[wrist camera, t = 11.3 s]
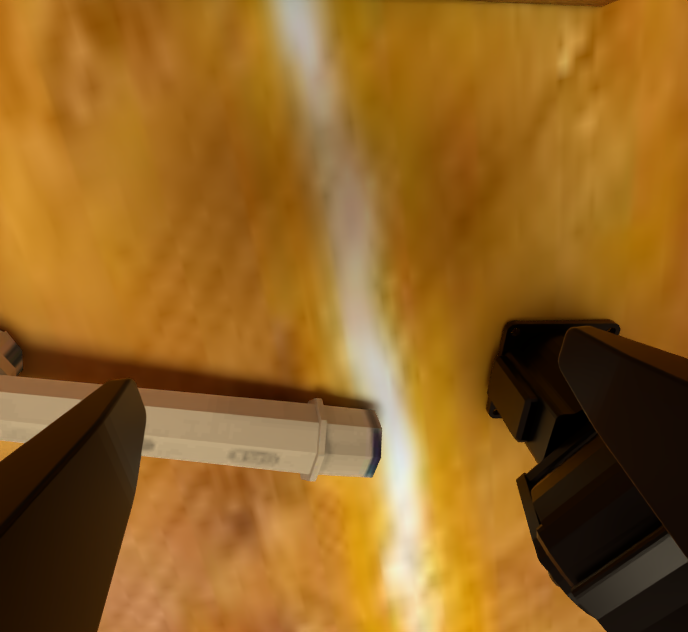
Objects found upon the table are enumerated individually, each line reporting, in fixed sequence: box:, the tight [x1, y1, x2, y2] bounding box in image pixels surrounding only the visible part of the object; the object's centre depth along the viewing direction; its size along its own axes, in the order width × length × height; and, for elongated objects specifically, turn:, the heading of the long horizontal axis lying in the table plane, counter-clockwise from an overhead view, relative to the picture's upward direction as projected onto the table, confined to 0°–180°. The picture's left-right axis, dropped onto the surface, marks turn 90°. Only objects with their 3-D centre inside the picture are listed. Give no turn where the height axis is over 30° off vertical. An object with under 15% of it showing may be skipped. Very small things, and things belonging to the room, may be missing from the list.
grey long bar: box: [0, 330, 382, 481], centre depth 22 cm, size 5×7×25 cm
